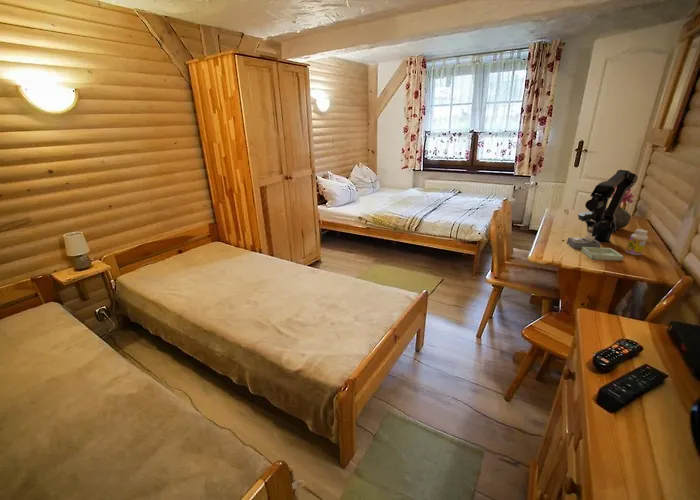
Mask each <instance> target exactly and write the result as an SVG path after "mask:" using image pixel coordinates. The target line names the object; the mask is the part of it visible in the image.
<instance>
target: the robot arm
mask: <svg viewBox="0 0 700 500" xmlns="http://www.w3.org/2000/svg"><path fill="white" fill-rule="evenodd" d="M638 180H639V179H638V176H637V174H636V173H633V172H631V171H630V170H627V169H626V170H625V169H618V170H617V171H616V173H614V174H613V175H612V176H611V177H610V178H609V179H607V180H605V181H601V182H599V183H598V184H596V186H595V187H594V189H593V191H592V192H591V194H590V196H589V197H591V199H588V200H587V201H586V202H585V203H584V204H585V208H586V209H587V210H588V211H583V212H579V213H578V214H577V216H578V220H580V221H581V222H584V223H586V231H587V230H588V227H589V226H593V232H592V236H593V237H594V236H595V238H594V239H595V240H596V241H598V242H599V243H611V242H612V241H611V240H610V239H611V237H612V234H615V233H616V231H617V229H616V223H615V222H616V218H615V214H616V212H617V210H618V208H619V206H620V207H621V204H622V203H623V202H622V200H623V198H624V196H625V194H626V192H627V190H629V189H630V188H631V189H632V188H633V186H634V185H635V184H636V183H637V181H638ZM616 186H617V189H616V190H615V187H616ZM613 193H614V195H613ZM612 196H613V197H612ZM611 197H612V198H611ZM610 199H611V200H610ZM609 200H610V202H609ZM621 202H622V203H621ZM607 207H608V208H607ZM606 208H607V210H606Z"/></svg>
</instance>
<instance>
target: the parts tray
mask: <svg viewBox="0 0 700 500" xmlns="http://www.w3.org/2000/svg"><path fill="white" fill-rule="evenodd" d="M580 252H582V254H584V255H585V256H586V257H587V258H589V259H591V260H593V261H594V260H596V261H613V262H614V261H617V262H620V261H621V262H623V260H624V257H625V256H624V255H622V254H621V253H619V252H618V251H616V250H615V249H613V248H611V247H600V248H597V247H582V249H580Z"/></svg>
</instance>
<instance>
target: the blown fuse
mask: <svg viewBox="0 0 700 500" xmlns="http://www.w3.org/2000/svg"><path fill="white" fill-rule="evenodd" d="M592 232H593V226H589V227H588V230H587V229H586V235H585V237H584V238H585V242H592V243H593V242H594V238H595V236H594V237H593V236H592Z"/></svg>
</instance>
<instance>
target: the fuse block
mask: <svg viewBox="0 0 700 500" xmlns="http://www.w3.org/2000/svg"><path fill="white" fill-rule="evenodd" d="M585 238H586V237H568V238H567V242H566V244H567V245H568V244H569V245H568V246H570V247H571V248H572V249H575V250H576V249H579V250H581V249H582V247H597V248H601V245H602V242H598V241H596V240H595V239H594V242H593V243H592V242H585Z"/></svg>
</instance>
